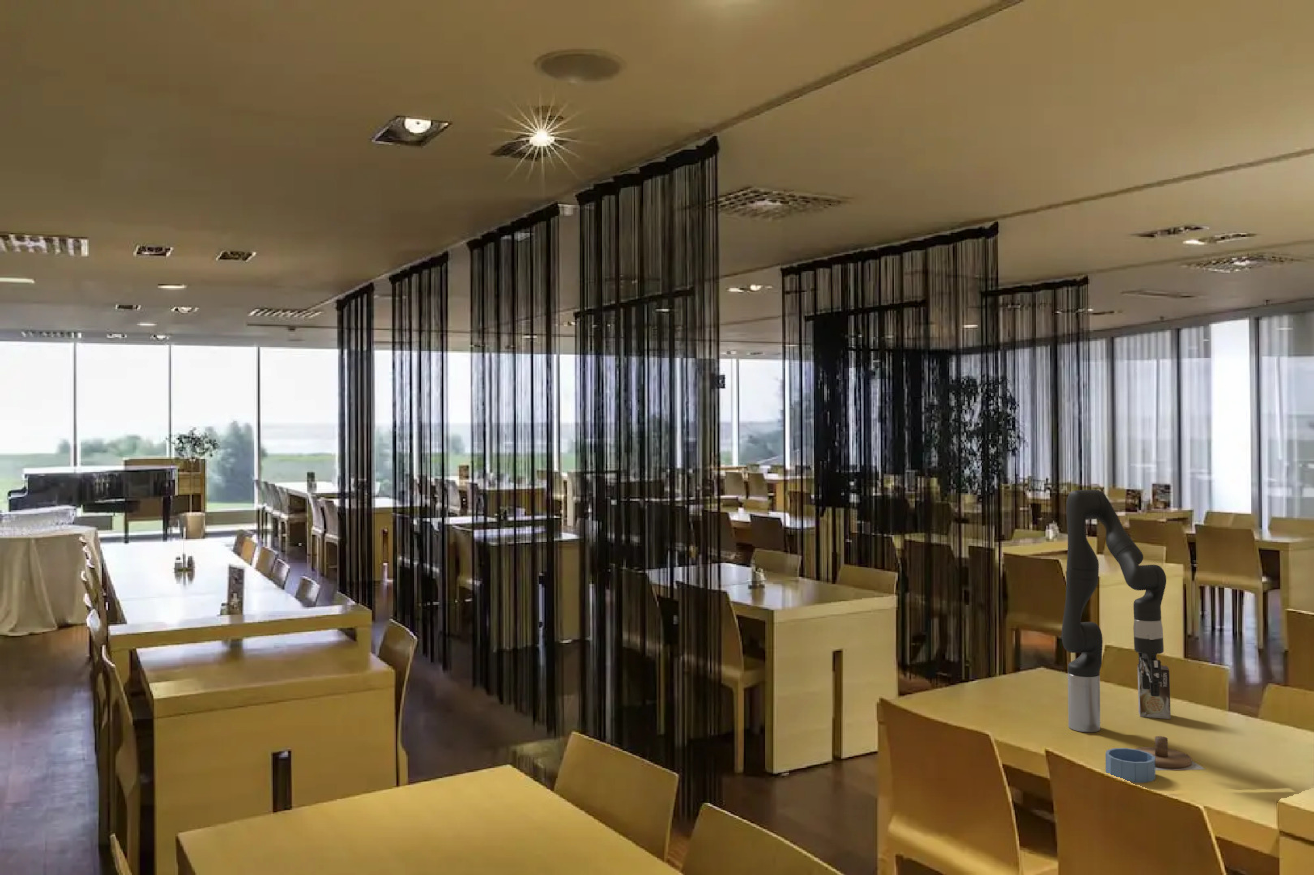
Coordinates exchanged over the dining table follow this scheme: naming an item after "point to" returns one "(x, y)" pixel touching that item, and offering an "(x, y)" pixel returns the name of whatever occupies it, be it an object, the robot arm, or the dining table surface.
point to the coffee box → (1155, 697)
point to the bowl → (1131, 764)
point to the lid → (1167, 755)
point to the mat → (1193, 767)
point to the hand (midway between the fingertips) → (1150, 692)
